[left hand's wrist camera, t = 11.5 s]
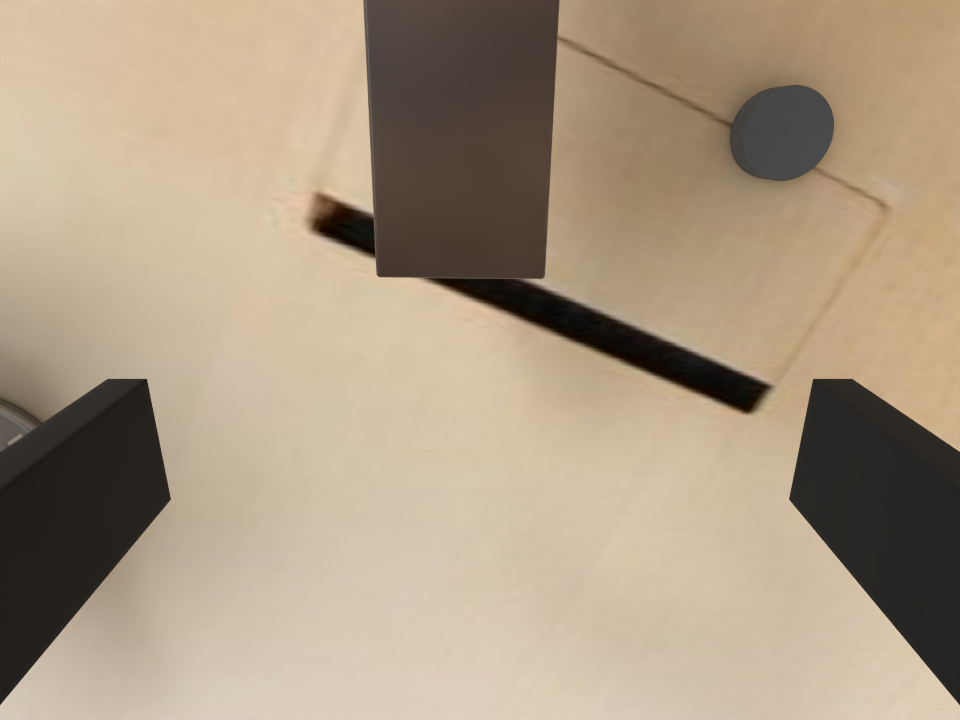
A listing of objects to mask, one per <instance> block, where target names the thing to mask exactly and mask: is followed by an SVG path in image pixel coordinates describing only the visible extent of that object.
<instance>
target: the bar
mask: <svg viewBox="0 0 960 720" xmlns="http://www.w3.org/2000/svg"><path fill="white" fill-rule="evenodd" d="M363 1H364V22H365V43H366V63H367V84H368V105H369V126H370V147H371V168H372V189H373V209H374V230H375V251H376V272H377V276H378V277H409V278H508V279H542V278H544V276H545V263H546V244H547V225H548V206H549V187H550V169H551V150H552V131H553V112H554V93H555V74H556V55H557V36H558V17H559V0H363Z"/></svg>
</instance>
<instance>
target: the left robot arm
mask: <svg viewBox="0 0 960 720" xmlns="http://www.w3.org/2000/svg"><path fill="white" fill-rule="evenodd" d="M170 500H171V498H170V493H169V488H168V483H167V478H166V473H165V468H164V463H163V458H162V453H161V448H160V443H159V438H158V433H157V428H156V423H155V418H154V413H153V408H152V403H151V398H150V393H149V388H148V383H147V379H107V380H106V381H104V382H103V383H101V384H100V385H98V386H97V387H95V388H94V389H92V390H91V391H89V392H88V393H86V394H85V395H84V396H82V397H81V398H79V399H78V400H76V401H75V402H73V403H72V404H70V405H69V406H67V407H66V408H64V409H63V410H61V411H60V412H58V413H57V414H56V415H54V416H53V417H51V418H50V419H48V420H47V421H45V422H44V423H42V424H41V423H39V422H38V421H37V420H35V419H34V418H33V417H31V416H30V415H28V414H27V413H25V412H24V411H22V410H21V409H19V408H17V407H15V406H13V405H11V404H9V403H7V402H5V401H3V400H0V705H1V703H2V702H3V701H4V700H5V699H6V697H7V696H8V695H9V694H10V693H11V691H12V690H13V689H14V688H15V687H16V685H17V684H18V683H19V682H20V681H21V679H22V678H23V677H24V676H25V674H26V673H27V672H28V671H29V670H30V668H31V667H32V666H33V665H34V664H35V662H36V661H37V660H38V659H39V658H40V656H41V655H42V654H43V653H44V652H45V650H46V649H47V648H48V647H49V646H50V644H51V643H52V642H53V641H54V640H55V638H56V637H57V636H58V635H59V634H60V632H61V631H62V630H63V629H64V627H65V626H66V625H67V624H68V623H69V621H70V620H71V619H72V618H73V617H74V615H75V614H76V613H77V612H78V611H79V609H80V608H81V607H82V606H83V605H84V603H85V602H86V601H87V600H88V599H89V597H90V596H91V595H92V594H93V593H94V591H95V590H96V589H97V588H98V587H99V585H100V584H101V583H102V582H103V580H104V579H105V578H106V577H107V576H108V574H109V573H110V572H111V571H112V570H113V568H114V567H115V566H116V565H117V564H118V562H119V561H120V560H121V559H122V558H123V556H124V555H125V554H126V553H127V552H128V550H129V549H130V548H131V547H132V546H133V544H134V543H135V542H136V541H137V540H138V538H139V537H140V536H141V535H142V533H143V532H144V531H145V530H146V529H147V527H148V526H149V525H150V524H151V523H152V521H153V520H154V519H155V518H156V517H157V515H158V514H159V513H160V512H161V511H162V509H163V508H164V507H165V506H166V505H167V503H168V502H169V501H170ZM789 500H790V501H791V502H792V503H793V505H794V506H795V507H796V508H797V509H798V511H799V512H800V513H801V514H802V515H803V517H804V518H805V519H806V520H807V521H808V523H809V524H810V525H811V526H812V527H813V529H814V530H815V531H816V532H817V534H818V535H819V536H820V537H821V538H822V540H823V541H824V542H825V543H826V544H827V546H828V547H829V548H830V549H831V550H832V552H833V553H834V554H835V555H836V556H837V558H838V559H839V560H840V561H841V562H842V564H843V565H844V566H845V567H846V568H847V570H848V571H849V572H850V573H851V574H852V576H853V577H854V578H855V579H856V581H857V582H858V583H859V584H860V585H861V587H862V588H863V589H864V590H865V591H866V593H867V594H868V595H869V596H870V597H871V599H872V600H873V601H874V602H875V603H876V605H877V606H878V607H879V608H880V609H881V611H882V612H883V613H884V614H885V615H886V617H887V618H888V619H889V620H890V621H891V623H892V624H893V625H894V626H895V628H896V629H897V630H898V631H899V632H900V634H901V635H902V636H903V637H904V638H905V640H906V641H907V642H908V643H909V644H910V646H911V647H912V648H913V649H914V650H915V652H916V653H917V654H918V655H919V656H920V658H921V659H922V660H923V661H924V662H925V664H926V665H927V666H928V667H929V668H930V670H931V671H932V672H933V673H934V675H935V676H936V677H937V678H938V679H939V681H940V682H941V683H942V684H943V685H944V687H945V688H946V689H947V690H948V691H949V693H950V694H951V695H952V696H953V697H954V699H955V700H956V701H957V702H958V703H959V705H960V452H959V451H958V450H956V449H955V448H953V447H952V446H950V445H949V444H947V443H946V442H944V441H943V440H941V439H940V438H938V437H937V436H935V435H934V434H933V433H931V432H930V431H928V430H927V429H925V428H924V427H922V426H921V425H919V424H918V423H916V422H915V421H913V420H912V419H910V418H909V417H907V416H906V415H904V414H903V413H902V412H900V411H899V410H897V409H896V408H894V407H893V406H891V405H890V404H888V403H887V402H885V401H884V400H882V399H881V398H879V397H878V396H876V395H875V394H874V393H872V392H871V391H869V390H868V389H866V388H865V387H863V386H862V385H860V384H859V383H857V382H856V381H854V380H853V379H813V383H812V388H811V393H810V398H809V403H808V408H807V413H806V418H805V423H804V428H803V433H802V438H801V443H800V448H799V453H798V458H797V463H796V468H795V473H794V478H793V483H792V488H791V493H790V498H789Z"/></svg>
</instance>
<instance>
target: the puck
mask: <svg viewBox="0 0 960 720" xmlns="http://www.w3.org/2000/svg"><path fill="white" fill-rule="evenodd" d="M833 130H834V120H833V114H832V111H831V108H830V106H829V104H828V103H827V101H826V100H825V98H824V97H823V96H822V95H821V94H820V93H818V92H817V91H815V90H813V89H811V88H809V87H805V86H799V85H792V86H783V87H776V88H771V89H767V90H764V91H762V92H760V93H758V94H757V95H755V96H753V97H752V98H751V99H750V100H749V101H747V102H746V104H745V105H744V106H743V107H742V108H741V110H740V111H739V113H738V114H737V116H736V118H735V120H734V123H733V126H732V130H731V137H730V143H731V150H732V154H733V156H734V158H735V160H736V162H737V163H738V165H739V166H740V167H741V168H742V169H743V170H744V171H745V172H747V173H749V174H750V175H753V176H755V177H759V178H764V179H770V180H776V181H785V180H791V179H794V178H797V177H800V176H802V175H804V174H805V173H807V172H809V171H810V170H811V169H812V168H814V167H815V166H816V165H817V164H818V163H819V162H820V160H821V159H822V158H823V156H824V155H825V153H826V152H827V150H828V148H829V146H830V143H831V140H832V136H833Z"/></svg>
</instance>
